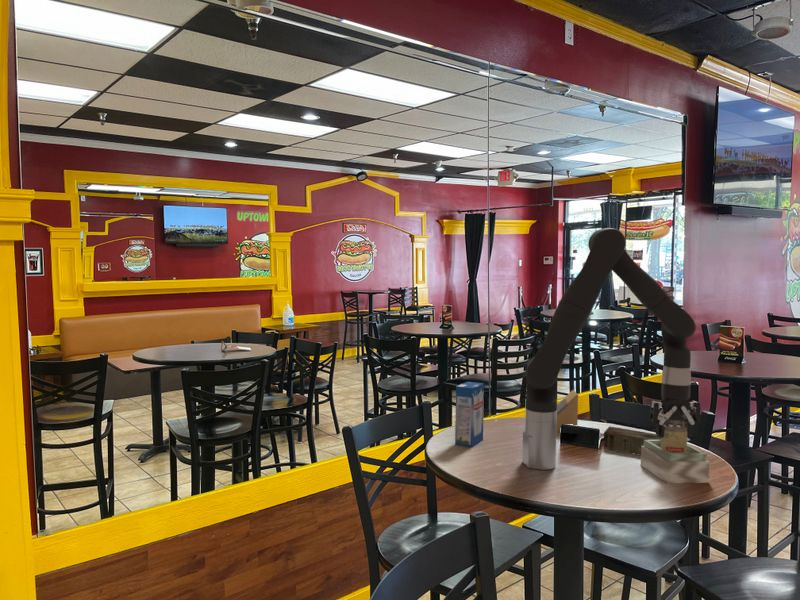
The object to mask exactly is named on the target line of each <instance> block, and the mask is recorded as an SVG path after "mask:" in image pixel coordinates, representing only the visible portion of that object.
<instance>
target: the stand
mask: <svg viewBox="0 0 800 600" xmlns="http://www.w3.org/2000/svg"><path fill="white" fill-rule="evenodd" d="M707 455H708V454H707V453H706V452H703V451H701V449H698V448H696V447H694V446H692V445H691V444H688V443H687V452H686V453H669V452H667V451H665V450H664V449H662V448H661V440H644V446H641V455H640V466H641V467H643V468H644V469H645V470H646V471H649V472H650V473H651V474H653V475H654V476H656V477H657V478H659V479H661V481H663V482H665V483H666V484H700V483H701V484H705V483H707V484H709V481H710V480H709V479H710V461H709V460H707V458H708V456H707Z"/></svg>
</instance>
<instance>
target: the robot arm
mask: <svg viewBox="0 0 800 600" xmlns="http://www.w3.org/2000/svg"><path fill="white" fill-rule="evenodd" d="M626 245H627V243H626V238H625V235H624V234H623V232H622V231H621V230H619V229H617V228H612V227H606V228H600V229H598V230H595V231H594V232H593V233H592V234H591V235H590V237H589V238H588V245H587V246H588V250H589V253H588V255H587V258H586V260H585V262H584V265H583V267H582V268H581V270H580V271H579V273H578V274H577V276H576V277H575V278H574V279H573V280H572V281H571V283H570V284H569V285H568V287H567V288H566V290H565V291H564V292H563V295H562V297H561V298H560V300H559V302H558V305H557V306H556V309H555V311H554V314H553V315H552V318H551V321H550V324H549V327H548V330H547V333H546V336H545V339H544V341H543V342H542V344H541V346H540V347H539V349H538V351H537V352H536V354H535V356H534V357H532V358H531V359H530V360H529V361H528V363H527V365H526V370H525V376H526V381H525V382H526V385H525V386H526V387H525V389H526V390H525V391H526V392H525V413H524V414H525V416H524V420H525V421H524V422H525V423H524V425H525V426H524V430H523V432H522V457H521V458H522V463H523V464H524V466H526V467H527V469H534V470H538V471H539V470H540V471H542V470H543V471H545V470H546V471H547V470H552V469H554V468H556V467H557V465H556V463H557V434H556V426H557V404H558V376H559V373H560V370H561V368H562V366H563V363H564V360H565V358H566V356H567V353H568V352H569V350H570V348H571V346H572V345H573V344H574V342H575V340H576V339H577V338H578V336H579V334H580V333H581V331H582V329H583V328H584V326H585V324H586V323H587V320H588V318H589V317H590V314H591V313H592V311H593V308H594V306H595V304H596V302H597V300H598V298H599V296H600V294H601V291H602V289H603V286H604V284H605V282H606V279H607V278H608V277H609V274H610V273H611V272H613V273H614V274H615V275H616V276H617V277H618V278H619V279H620V280H621V281H622V282H623V283H624V284H625V286H627V288H628V289H629V291H630V292H632V294H633V295H634V296H635V298H636V299H637V300H638V301H639V303H641V305H643V306H644V307H645V309H646V310H647V311H648V312H649V313H650V314H652V315H653V316H654V317H657V318H658V320H659V321H661V331H660V332H661V339H662V347H663V352H664V353H663V366H662V367H663V368H662V374H661V393H660V394H661V401H655V400H651V401H650V405H649V406H650V407H649V415H648V416H649V417H648V419H649V420H648V421H650V422H652V423H653V424H655V434H657V436H658V437H660V438H663V433H664V425H665V423H666V420H667V419H670V418H677V417H678V418H683V421H684V422H685V425H684V426H686V427H687V438H692V436H693V435H694V425H695V424H697V423H698V424H699V423H701V403H700V402H698V401H695V400H692V401H690V399H691V387H692V385H691V382H692V378H691V377H692V373H691V371H692V370H691V359H692V358H691V355H692V353H691V350H690V348H689V346H687V339H688V338H689V339H690V338H691V337H692V336H693V335H694V334H695V332H696V328H697V327H696V322H695V320H694V319H693V317H692V316H691V314H689V313H688V312H687V311H686V310H685V309H684V308H683V307H681V306H680V305H679V304H678V303H677V302H675V300H673V299H672V298H671V297H670V296H669V294H668V292H666V290H664V288H663V287H662V286H661V285H660V284H659V282H657V280H655V279H654V278H653V277H652V276H651V275H650V274H648V272H646V271H645V270H644V269H643V268H642V267H641V266H639V265H638V264H637V263H636V262H635V261H634V259H633V258H632V257H631V256H630V255H629V254H628V252H627V251H626ZM660 409H661V410H660ZM689 409H691V414H690V413H689V411H688V410H689ZM659 410H660V411H659ZM663 424H664V425H663Z"/></svg>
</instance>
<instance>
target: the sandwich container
mask: <svg viewBox="0 0 800 600" xmlns="http://www.w3.org/2000/svg"><path fill="white" fill-rule="evenodd" d="M578 415H579V394H578V393H577V392H576V391H575V389H572V390H571V391H570V392H569V393H568V394H567V395H566V396H565V397H563V399H562V400H560V401H559V402H557V426H556V433H560V428H561V425H562V424H573V425H577V426H578Z"/></svg>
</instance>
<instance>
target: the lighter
mask: <svg viewBox="0 0 800 600" xmlns="http://www.w3.org/2000/svg"><path fill="white" fill-rule="evenodd" d="M685 423H686V421H685V420H684V419H680V420H677V419H670V418H669V419H667V420H666V421H665V423H663V425H664V433H663V438H661V448H662V449H664V450H665V451H667V452H669V453H686V452H687V444H688V437H687V427H686V426H685Z"/></svg>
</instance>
